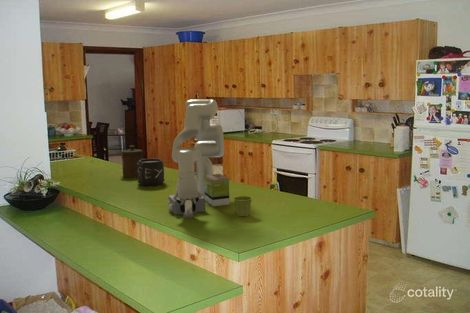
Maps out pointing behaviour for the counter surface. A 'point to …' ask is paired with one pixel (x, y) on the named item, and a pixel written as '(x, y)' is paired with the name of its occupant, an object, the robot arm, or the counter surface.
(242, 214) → the plant pot
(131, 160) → the wooden container
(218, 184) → the tea box
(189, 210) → the spout can
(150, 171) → the black lettered box
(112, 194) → the counter surface
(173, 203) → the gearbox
